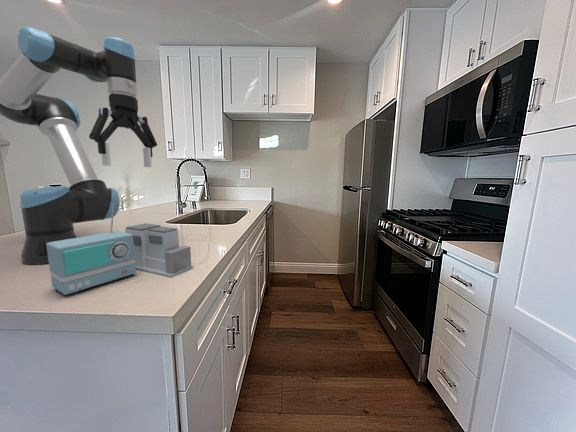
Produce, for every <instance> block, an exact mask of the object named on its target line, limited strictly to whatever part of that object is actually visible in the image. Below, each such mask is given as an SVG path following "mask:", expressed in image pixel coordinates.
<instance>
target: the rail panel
mask: <svg viewBox="0 0 576 432" xmlns="http://www.w3.org/2000/svg"><path fill="white" fill-rule="evenodd" d="M188 258H190V257H188ZM188 258H187V259H183V260H184V261H183V260H180V262H179V263H178V262H177V263H178V264H181V263H183V265H184V266H185V265H187V266H190V262H189V261H190V259H189V260H188ZM185 261H187V262H186V263H187V264H186V263H185ZM184 263H185V264H184ZM173 264H174V263H173ZM183 265H182V266H183ZM145 266H146V267H139V266H136V271H141V272H145V273H148V274H149V273H150V274H154V275H158V276H163V277H167V278H173V277H175V276H178V275H180V274H182V273H185V272H186V271H190V270H191V269H193V267H194V266H193V265H191V266H190V267H187V266H185V267H184V266H183V267H184V268H183V267H182V266H181V265H178V266H179V267H176V269H177V268H180V269H179V270H180V271H179V270H176V271H178V272H176V271H174V272H176V273H174V274H171V273H166V264H165V260H160V259H155V258H150V257H149V256H147V257H145ZM175 266H176V264H175ZM175 266H174V267H175ZM180 266H181V267H180ZM186 267H187V268H186ZM182 268H183V270H182ZM174 270H175V268H174Z"/></svg>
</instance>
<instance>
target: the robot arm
mask: <svg viewBox="0 0 576 432" xmlns="http://www.w3.org/2000/svg"><path fill="white" fill-rule="evenodd" d="M17 43H18V48H19V51H20V53H21V54H20V55H19V56H18V57H17V59H16V60H15V61H14V63H13V64H12V65H11V66H10V67H9V69H8V70H7V72H6V73H5V74H4V75H3V76H2V78H1V79H0V115H1V116H3V118H6V119H8V120H9V121H12V122H15V123H18V124H23V125H29V126H36V127H38V130H39V132H40V133H41V134H43V136H47V138H48V140H49V141H50V144H51V146H52V148H53V150H54V152H55V154H56V156H57V159H58V161H59V163H60V165H61V167H62V169H63V172H64V173H65V177H66V178H67V181H68V182H69V184H70V185H69V186H67V185H59V186H57V185H56V186H47V187H46V186H45V187H40V188H38V187H37V188H32V189H28V190H24V191H22V192H21V194H20V209H21V214H22V219H23V227H24V231H25V232H24V233H25V241H24V244H23V247H22V251H21V255H20V259H21V263H22V264H25V265H44V264H45V265H46V264H49V261H48V254H47V247H46V243H49V242H54V241H60V240H66V239H73V238H78V236H77V235H76V233H75V230H74V224H79V223H86V222H93V221H94V222H95V221H104V220H107V219H112V205H113V204H114V210H113V218H114V217H115V216H116V215H117V214H118V212H119V210H120V204H121V203H120V201H121V200H120V196H119V193H118V191H117V190H116V189H114V188H111V187H109V188H108V187H107V185H106V183H105V181H103V180H102V179H99V178H98V177H97V174H96V172H95V170H94V169H93V168H94V167H92V164H91V162H90V160H89V158H88V155H87V154H86V152H85V149H84V147H83V145H82V144H81V141H80V139H79V137H78V135H77V131H78V129H79V127H80V126H81V118H80V114H79V111H78V109H77V107H76V106H75V105H74V104H73V102H71V101H68V100H66V99H62V98H60V97H52V96H48V95H45V94H44V95H43V94H39V91H40V90H41V89H43V87H44V86H45V85H47V83H48V82H49V81H50V80H51V79H52V78H53V77H54V76H55V75H56V74H57V73H58V72H59V71H60V70H61V69H62V70H66V71H69V72H73V73H76V74H80V75H83V76H84V77H85V78H86V79H88V80H89V81H90V82H94V83H106V84H107V93H109V95H108V103H109V107H110V109H109V108H108V107H100V108H98V116H97V119H96V120H95V123H94V125H93V127H92V129H91V130H90V131H91V132H90V134H89V136H88V139H90V140H93V141H94V142H95V143H97V152H98V154H100V155H101V162H102V163H101V165H102V166H104V167H105V166H112V164H111V163H112V162H111V161H112V160H111V153H110V143H109V142H107V140H108V139H110V137H111V136H112V135H113V133H115V131H116V130H117V129H118V128H124V129H128V130H131V131H132V132H133V133H134V134H135V135H136V137H137V138H138V139H139V140H140V142H141V144H143V146H144V147H142V152H143V153H142V154H143V155H142V156H143V166H144V168H152V167H153V165H152V164H153V163H152V158H153V148H155V147H157V146H158V143H157V141H156V138H155V136H154V134H153V132H152V129H151V128H150V125H149V122H148V118H147V116H139V115H138V112H139V102H138V99H137V98H138V88H137V87H138V86H137V74H136V71H137V70H136V58H135V52H134V51H135V50H134V47H133V45H132V44H131V43H130V42H128V41H127V40H125V39H123V38H119V37H116V36H107V37H105V38H104V39H103V46H102V47H103V50H102V51H99V52H97V51H93V50H91V49H89V48H87V47H84V46H81V45H78V44H75V43H73V42H70V41H69V40H65V39H62V38H60V37H57V36H56V35H52V34H50V33H48V32H46V31H43V30H40V29H36V28H34V27H30V26H23V27H21V28H20V29H19V31H18V36H17ZM109 117H111V119H112V120H111V121H110V122H109V124H108V125H107V126H106V128H105V125H106V123H107V120H108V119H109Z"/></svg>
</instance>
